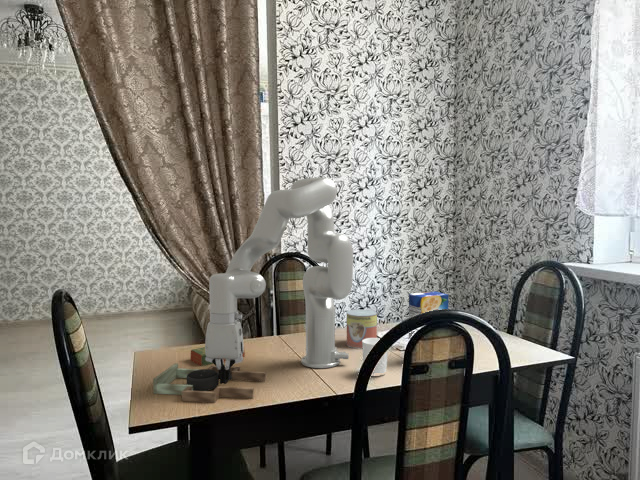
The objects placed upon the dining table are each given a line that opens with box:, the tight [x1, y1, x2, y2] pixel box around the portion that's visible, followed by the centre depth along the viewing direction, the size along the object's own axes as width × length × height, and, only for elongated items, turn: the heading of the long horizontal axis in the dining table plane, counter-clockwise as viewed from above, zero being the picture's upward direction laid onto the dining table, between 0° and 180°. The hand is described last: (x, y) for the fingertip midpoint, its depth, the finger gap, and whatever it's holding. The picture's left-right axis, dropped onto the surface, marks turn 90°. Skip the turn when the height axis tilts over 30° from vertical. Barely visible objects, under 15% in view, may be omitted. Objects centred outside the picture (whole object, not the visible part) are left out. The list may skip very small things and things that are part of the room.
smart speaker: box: [186, 368, 220, 391], centre depth 142 cm, size 9×9×4 cm
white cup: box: [362, 337, 389, 374], centre depth 153 cm, size 8×8×10 cm
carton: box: [190, 346, 246, 367], centre depth 169 cm, size 8×16×4 cm, turn 130°
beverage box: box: [408, 291, 449, 339], centre depth 166 cm, size 7×11×22 cm, turn 116°
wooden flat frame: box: [152, 363, 267, 403], centre depth 142 cm, size 28×22×4 cm
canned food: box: [345, 308, 378, 349], centre depth 186 cm, size 11×11×12 cm
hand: (224, 382), depth 141 cm, fingers closed
